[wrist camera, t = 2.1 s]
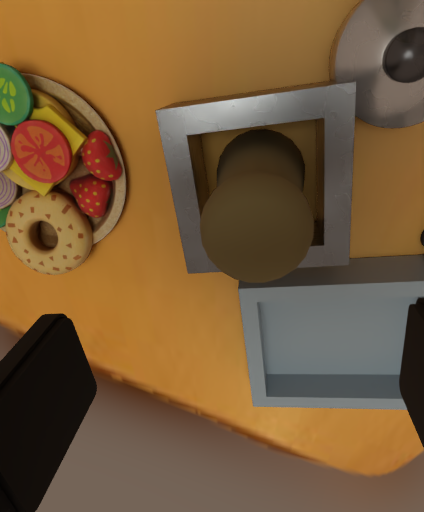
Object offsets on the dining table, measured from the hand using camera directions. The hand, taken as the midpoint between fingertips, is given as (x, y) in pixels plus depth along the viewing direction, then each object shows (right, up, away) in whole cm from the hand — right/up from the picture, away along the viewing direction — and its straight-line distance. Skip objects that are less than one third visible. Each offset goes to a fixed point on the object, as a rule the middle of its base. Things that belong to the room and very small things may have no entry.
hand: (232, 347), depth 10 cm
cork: (+3, +8, +15) cm, 17 cm away
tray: (+9, -3, +20) cm, 22 cm away
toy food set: (-13, +9, +17) cm, 23 cm away
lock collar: (+6, +10, +13) cm, 17 cm away
